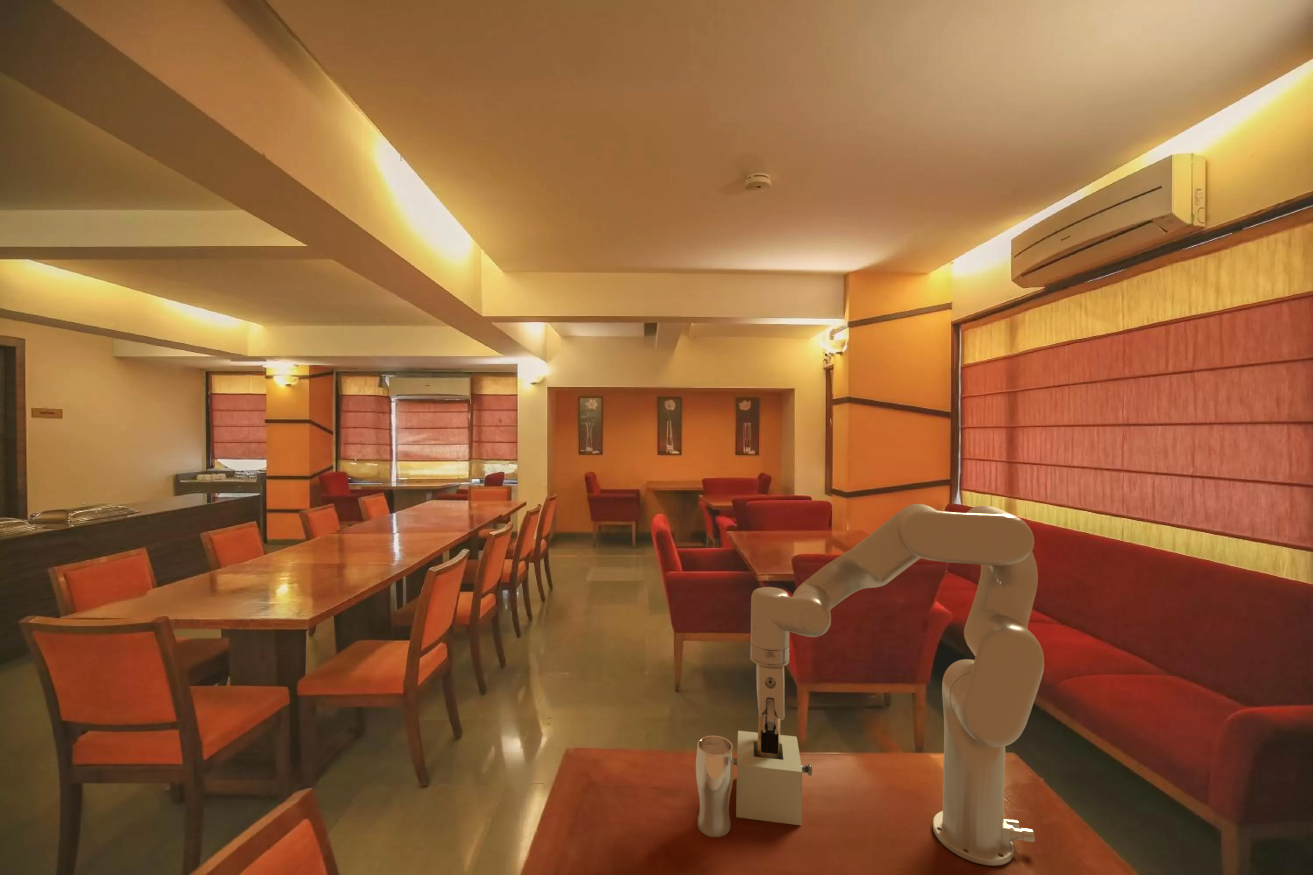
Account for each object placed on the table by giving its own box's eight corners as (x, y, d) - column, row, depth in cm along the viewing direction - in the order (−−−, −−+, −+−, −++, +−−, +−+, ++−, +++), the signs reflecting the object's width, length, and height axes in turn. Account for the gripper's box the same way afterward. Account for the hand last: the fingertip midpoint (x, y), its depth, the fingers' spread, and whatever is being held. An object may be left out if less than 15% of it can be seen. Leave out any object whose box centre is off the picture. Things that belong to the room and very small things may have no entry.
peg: (778, 756, 110) (780, 707, 110) (779, 769, 106) (781, 718, 106) (756, 754, 111) (758, 705, 111) (757, 766, 107) (759, 715, 107)
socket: (795, 784, 114) (796, 736, 114) (801, 825, 102) (802, 771, 102) (737, 777, 116) (738, 730, 116) (736, 816, 104) (736, 764, 104)
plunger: (777, 775, 107) (778, 763, 107) (777, 768, 110) (777, 756, 110) (811, 779, 106) (812, 767, 106) (810, 771, 109) (810, 759, 108)
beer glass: (731, 842, 97) (732, 758, 97) (692, 835, 99) (693, 753, 99) (734, 815, 104) (735, 737, 104) (697, 809, 106) (698, 732, 105)
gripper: (792, 672, 99) (791, 766, 99) (786, 637, 116) (785, 717, 117) (750, 669, 101) (749, 762, 101) (750, 634, 118) (749, 714, 118)
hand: (768, 738), depth 109 cm, fingers open, 9 cm apart
